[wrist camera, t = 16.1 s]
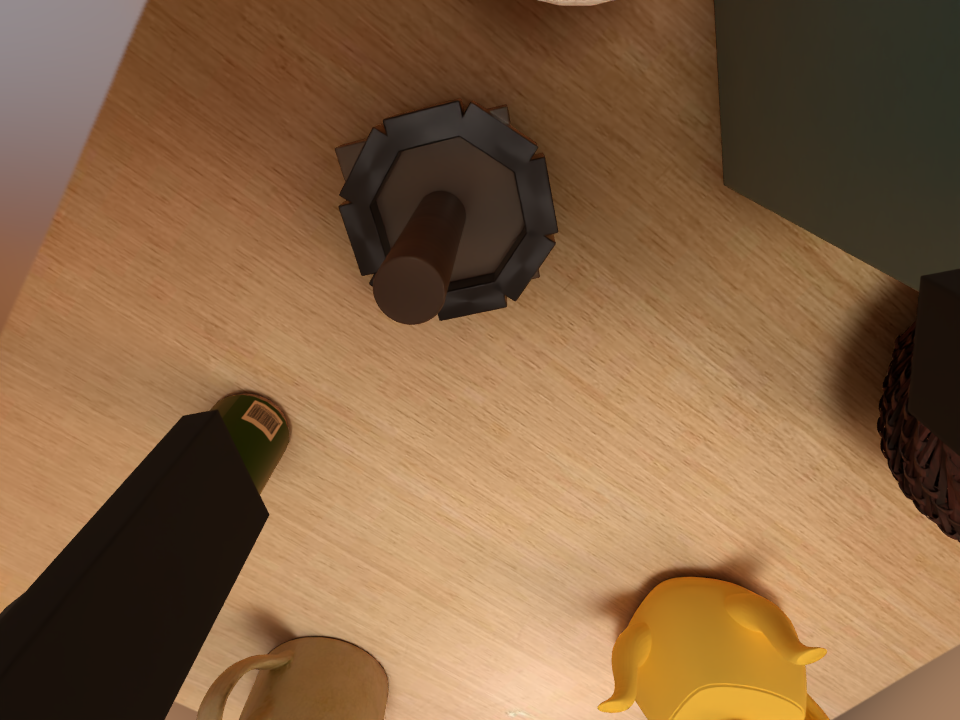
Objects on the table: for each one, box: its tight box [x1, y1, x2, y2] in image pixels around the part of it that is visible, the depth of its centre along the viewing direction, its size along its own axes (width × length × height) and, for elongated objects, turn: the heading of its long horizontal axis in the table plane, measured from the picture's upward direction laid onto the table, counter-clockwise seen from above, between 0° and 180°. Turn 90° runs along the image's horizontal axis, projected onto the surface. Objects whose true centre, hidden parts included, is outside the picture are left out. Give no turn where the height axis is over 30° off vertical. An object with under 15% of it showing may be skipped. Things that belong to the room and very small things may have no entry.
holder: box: [335, 105, 540, 325], centre depth 27 cm, size 9×9×14 cm
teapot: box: [598, 577, 830, 720], centre depth 42 cm, size 14×13×10 cm
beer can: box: [210, 393, 289, 495], centre depth 35 cm, size 5×5×12 cm
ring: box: [339, 99, 558, 321], centre depth 31 cm, size 11×11×2 cm
